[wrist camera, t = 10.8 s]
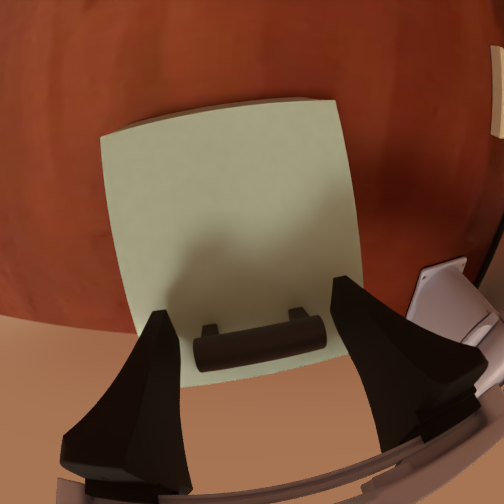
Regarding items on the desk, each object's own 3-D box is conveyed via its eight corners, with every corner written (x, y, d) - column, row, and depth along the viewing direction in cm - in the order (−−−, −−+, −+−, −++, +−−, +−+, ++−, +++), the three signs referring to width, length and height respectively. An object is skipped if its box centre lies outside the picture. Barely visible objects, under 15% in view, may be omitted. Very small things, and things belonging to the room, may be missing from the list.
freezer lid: (360, 343, 14) (392, 376, 11) (159, 383, 14) (145, 426, 10) (330, 104, 12) (362, 75, 9) (105, 139, 12) (69, 119, 8)
